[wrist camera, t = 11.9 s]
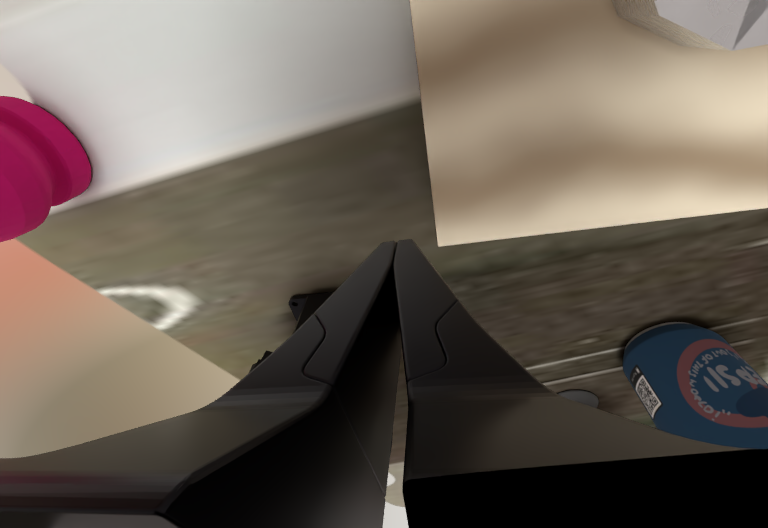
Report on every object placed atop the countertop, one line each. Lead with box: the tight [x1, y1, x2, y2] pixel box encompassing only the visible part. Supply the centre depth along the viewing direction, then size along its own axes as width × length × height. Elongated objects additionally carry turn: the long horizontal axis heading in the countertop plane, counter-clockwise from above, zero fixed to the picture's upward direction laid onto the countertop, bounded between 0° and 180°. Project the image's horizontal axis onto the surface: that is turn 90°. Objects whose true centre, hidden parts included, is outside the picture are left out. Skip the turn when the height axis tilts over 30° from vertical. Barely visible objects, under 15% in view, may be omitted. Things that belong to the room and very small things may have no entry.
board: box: [410, 0, 768, 247], centre depth 15 cm, size 20×19×1 cm
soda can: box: [623, 322, 768, 449], centre depth 22 cm, size 7×7×12 cm
